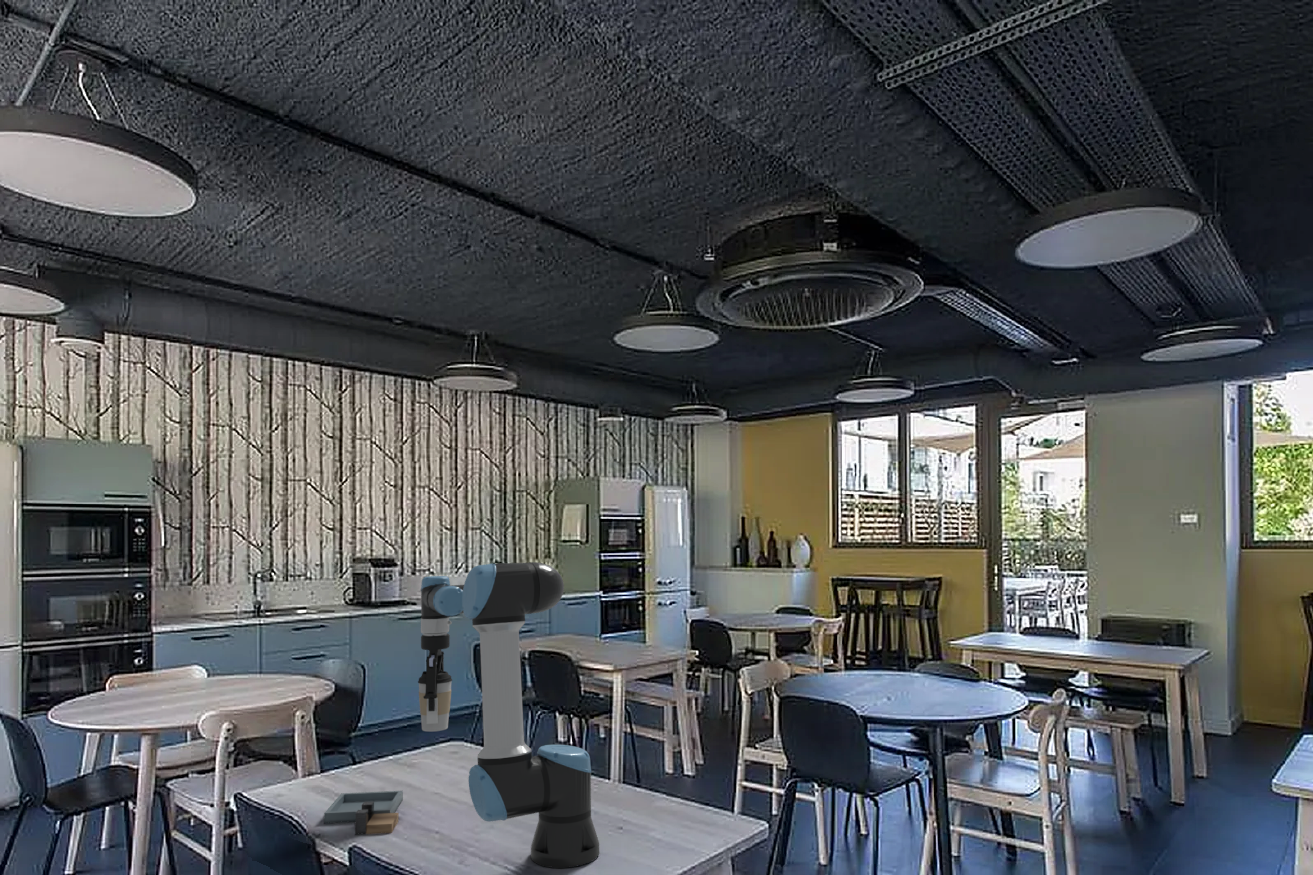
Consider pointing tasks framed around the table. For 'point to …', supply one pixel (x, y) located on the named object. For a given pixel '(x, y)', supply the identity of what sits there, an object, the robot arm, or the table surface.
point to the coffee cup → (443, 701)
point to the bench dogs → (363, 817)
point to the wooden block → (382, 823)
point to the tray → (352, 802)
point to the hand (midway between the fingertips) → (435, 719)
